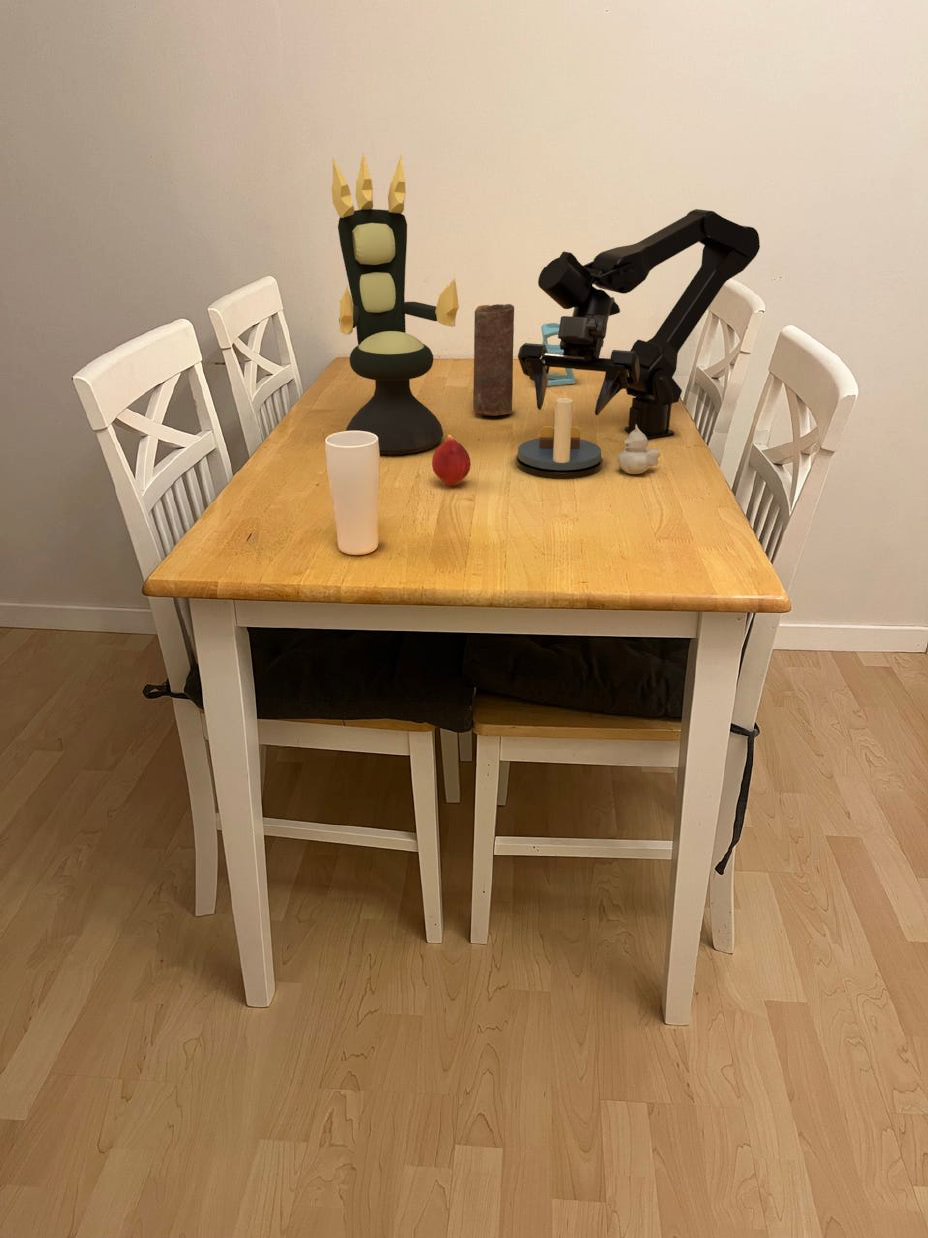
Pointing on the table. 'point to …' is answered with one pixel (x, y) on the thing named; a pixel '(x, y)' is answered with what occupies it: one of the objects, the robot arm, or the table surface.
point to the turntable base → (558, 471)
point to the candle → (493, 359)
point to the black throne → (385, 314)
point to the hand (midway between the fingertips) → (567, 411)
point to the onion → (451, 462)
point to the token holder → (560, 444)
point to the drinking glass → (354, 489)
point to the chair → (550, 331)
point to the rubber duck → (637, 454)
